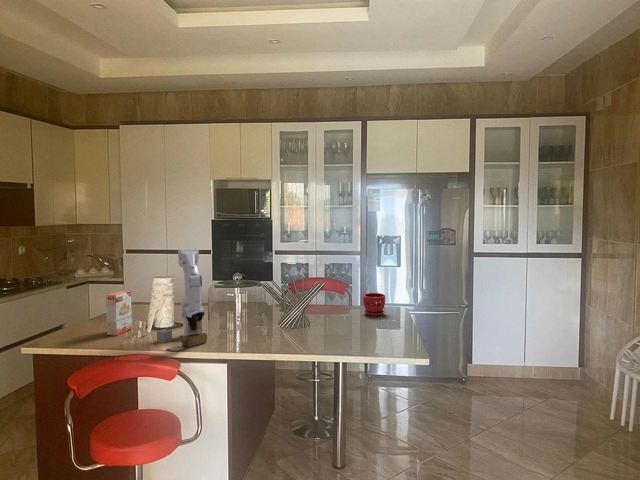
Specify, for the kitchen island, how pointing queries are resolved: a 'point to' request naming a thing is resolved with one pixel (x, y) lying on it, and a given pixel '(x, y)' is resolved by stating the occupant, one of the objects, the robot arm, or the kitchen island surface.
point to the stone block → (194, 339)
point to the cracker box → (118, 312)
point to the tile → (176, 348)
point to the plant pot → (374, 303)
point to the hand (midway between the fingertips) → (195, 328)
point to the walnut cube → (198, 328)
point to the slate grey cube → (164, 335)
